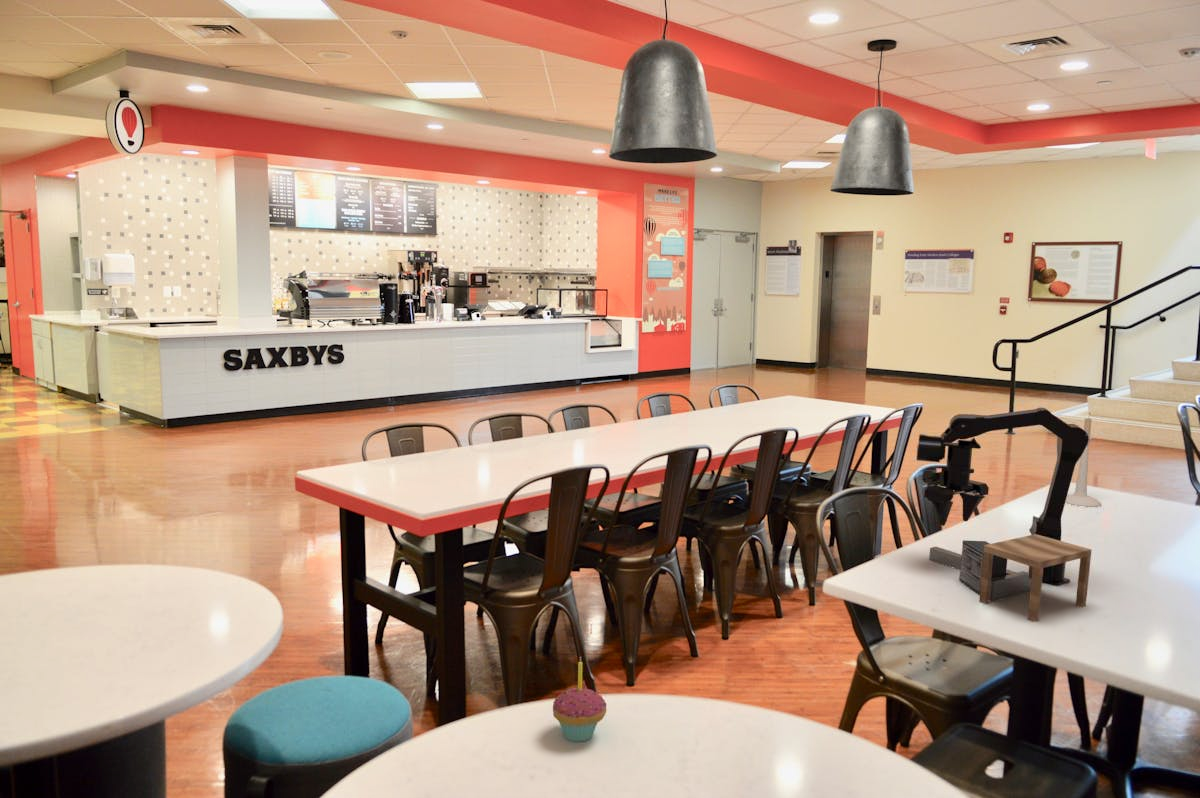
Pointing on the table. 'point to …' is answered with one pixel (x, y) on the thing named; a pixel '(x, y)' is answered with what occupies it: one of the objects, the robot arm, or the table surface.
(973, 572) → the small box
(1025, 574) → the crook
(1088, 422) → the candlestick
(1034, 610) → the small wooden table
